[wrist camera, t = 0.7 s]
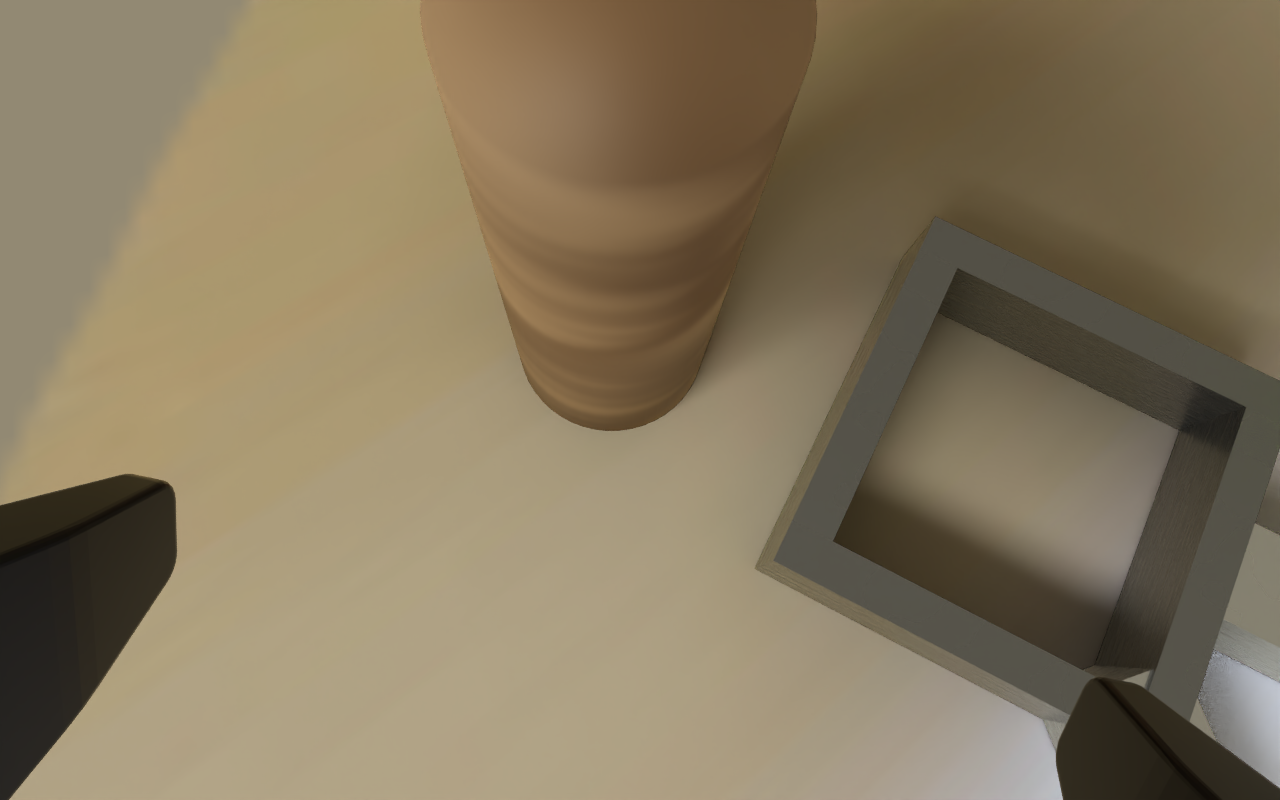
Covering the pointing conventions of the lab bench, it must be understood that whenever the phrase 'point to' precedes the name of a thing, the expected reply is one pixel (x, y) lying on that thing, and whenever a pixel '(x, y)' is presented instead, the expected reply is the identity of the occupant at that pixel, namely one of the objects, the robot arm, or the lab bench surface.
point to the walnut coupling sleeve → (616, 175)
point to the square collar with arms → (1176, 527)
